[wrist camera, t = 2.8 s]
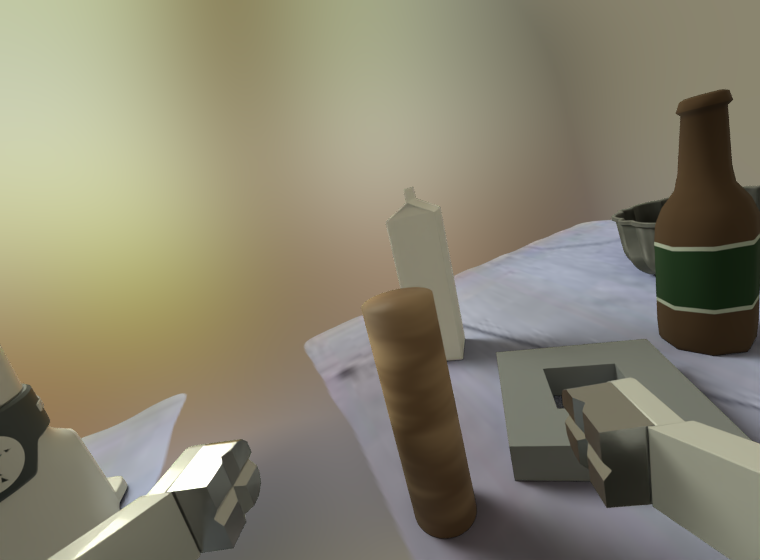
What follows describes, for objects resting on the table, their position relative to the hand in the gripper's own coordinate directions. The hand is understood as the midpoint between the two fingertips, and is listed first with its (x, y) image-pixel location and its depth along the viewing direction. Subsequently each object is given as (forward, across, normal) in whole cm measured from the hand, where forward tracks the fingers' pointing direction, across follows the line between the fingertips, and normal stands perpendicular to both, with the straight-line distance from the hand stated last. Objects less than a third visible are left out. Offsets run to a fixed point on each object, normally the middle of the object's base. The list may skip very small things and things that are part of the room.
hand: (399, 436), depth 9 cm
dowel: (+13, -1, -16) cm, 21 cm away
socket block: (+20, +13, -16) cm, 29 cm away
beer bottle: (+29, +28, -17) cm, 44 cm away
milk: (+37, +1, -17) cm, 40 cm away
